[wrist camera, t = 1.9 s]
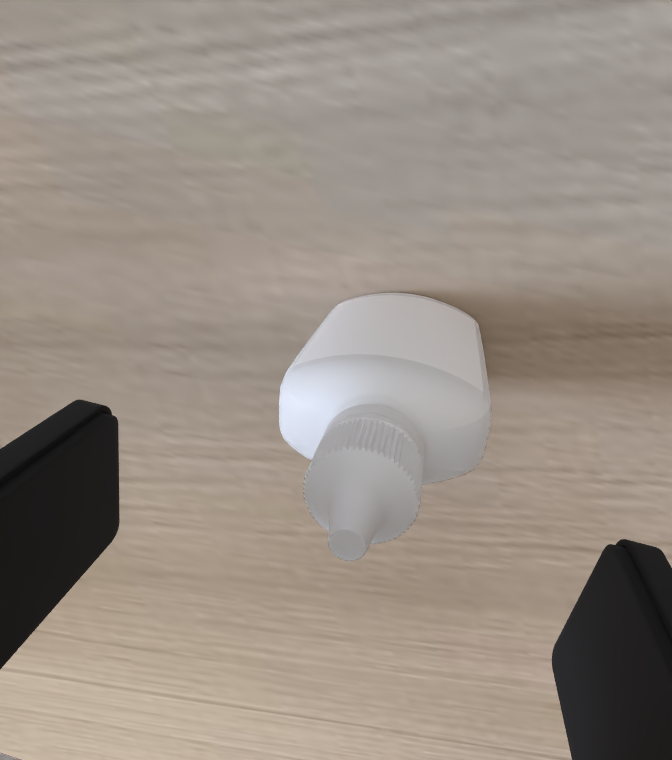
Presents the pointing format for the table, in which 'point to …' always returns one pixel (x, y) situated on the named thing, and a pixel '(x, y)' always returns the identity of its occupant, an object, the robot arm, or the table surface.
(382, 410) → the eye dropper bottle
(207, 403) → the table surface
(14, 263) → the table surface
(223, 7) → the table surface
